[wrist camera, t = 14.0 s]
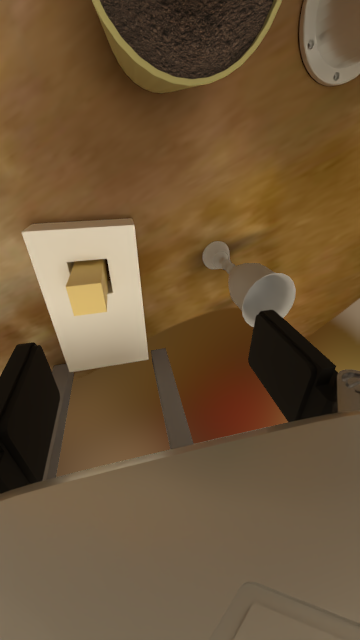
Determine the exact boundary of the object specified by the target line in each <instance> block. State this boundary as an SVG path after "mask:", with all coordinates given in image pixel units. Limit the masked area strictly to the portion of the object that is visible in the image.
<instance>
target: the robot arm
mask: <svg viewBox="0 0 360 640" xmlns="http://www.w3.org/2000/svg"><path fill="white" fill-rule="evenodd" d="M299 41H300V50H301V55H302V59H303V62H304V65H305V67H306V69H307V71H308V72H309V74H310V75H311V77H312V78H313V79H314V80H316V81H317V82H318V83H320V84H322V85H325V86H336V85H341V84H343V83H346V82H349V81H350V80H352V79H354V78H356V77H357V76H358V75H359V74H360V0H304V2H303V5H302V11H301V17H300V27H299ZM248 360H249V365H250V366H251V368H252V369H253V371H254V372H255V374H256V375H257V377H258V378H259V380H260V381H261V383H262V384H263V385H264V387H265V388H266V390H267V391H268V393H269V394H270V396H271V397H272V399H273V400H274V402H275V403H276V404H277V406H278V407H279V409H280V410H281V412H282V413H283V415H284V416H285V417H286V419H287V421H288V423H284V424H279V425H275V426H271V427H266V428H262V429H257V430H253V431H249V432H244V433H240V434H235V435H231V436H227V437H222V438H218V439H214V440H210V441H206V442H201V443H197V444H192V445H188V446H184V447H180V448H175V449H171V450H167V451H163V452H159V453H154V454H150V455H146V456H142V457H138V458H133V459H129V460H125V461H121V462H116V463H112V464H108V465H104V466H100V467H96V468H92V469H87V470H83V471H80V472H76V473H71V474H68V475H64V476H60V477H56V478H52V479H48V480H44V481H42V479H43V476H44V471H45V466H46V462H47V457H48V453H49V448H50V443H51V439H52V434H53V430H54V425H55V420H56V416H57V411H58V406H59V402H60V393H59V390H58V387H57V385H56V382H55V379H54V377H53V374H52V372H51V369H50V367H49V364H48V362H47V359H46V357H45V354H44V352H43V349H42V347H41V346H40V345H38V346H37V345H36V344H35V343H26V344H19V345H17V346H16V347H15V349H14V351H13V353H12V355H11V357H10V359H9V361H8V363H7V365H6V367H5V369H4V370H3V372H2V374H1V376H0V640H360V371H356V370H342V371H340V372H339V373H338V372H337V371H336V370H335V367H336V366H335V365H334V364H333V363H332V362H331V361H330V360H329V359H327V358H326V357H325V356H324V355H323V354H322V353H321V352H320V351H319V350H318V349H317V348H315V347H314V346H313V345H312V344H311V343H310V342H309V341H308V340H307V339H305V338H304V337H303V336H302V335H301V334H300V333H299V332H298V331H297V330H295V329H294V328H293V327H292V326H291V325H290V324H289V323H288V322H287V321H286V320H284V319H283V318H282V317H281V316H280V315H279V314H278V313H277V312H276V311H274V310H265V311H260V312H259V314H258V315H256V318H255V323H254V329H253V335H252V341H251V346H250V352H249V358H248Z"/></svg>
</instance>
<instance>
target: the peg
mask: <svg viewBox="0 0 360 640" xmlns="http://www.w3.org/2000/svg"><path fill="white" fill-rule="evenodd" d="M66 290H67V293H68V297H69V300H70V304H71V307H72V311H73V314H74V316H79V315H87V314H95V313H102V312H107V294H108V274H107V269H106V263H105V259H98V260H86V261H75V263H74V265H73V268H72V271H71V274H70V276H69V279H68V282H67V284H66Z"/></svg>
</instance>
